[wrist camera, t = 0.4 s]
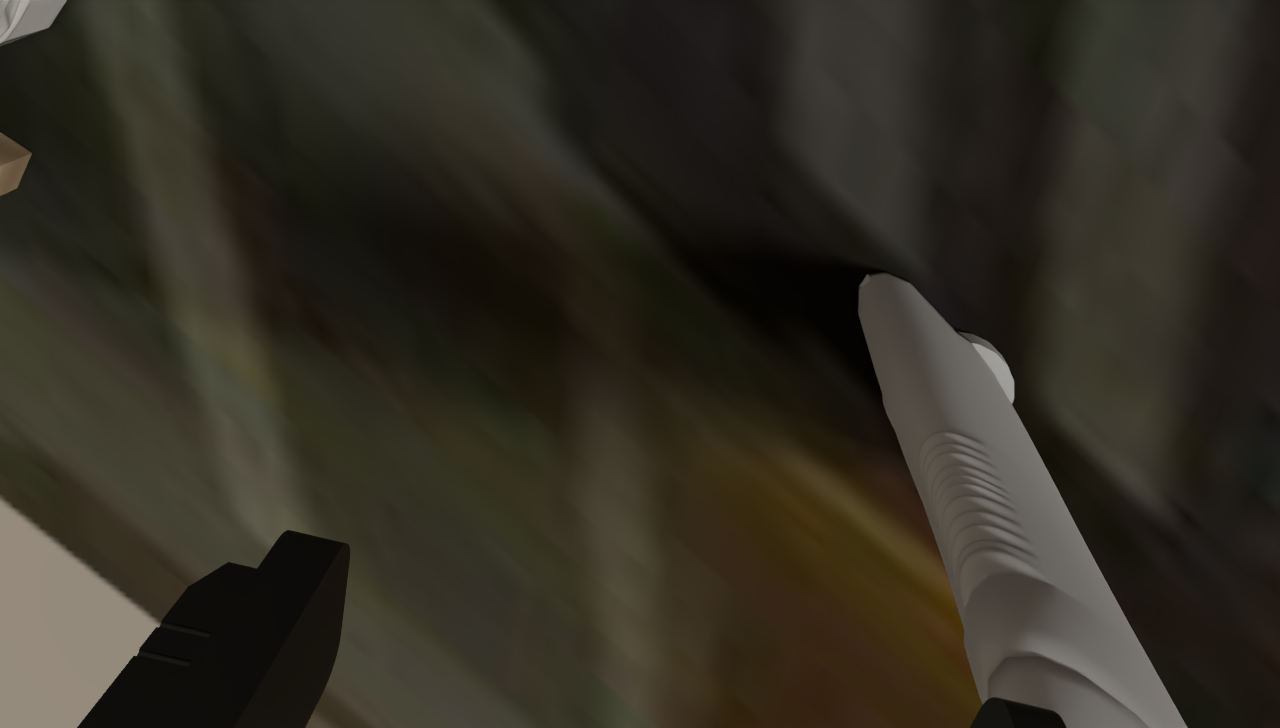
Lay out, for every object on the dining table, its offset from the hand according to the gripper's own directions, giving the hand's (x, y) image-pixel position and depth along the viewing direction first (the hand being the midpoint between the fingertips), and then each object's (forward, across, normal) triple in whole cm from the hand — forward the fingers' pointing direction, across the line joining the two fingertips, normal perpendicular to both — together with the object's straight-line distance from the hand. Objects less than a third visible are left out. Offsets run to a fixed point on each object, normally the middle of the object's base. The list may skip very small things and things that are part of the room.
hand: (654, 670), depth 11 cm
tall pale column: (+20, -10, +4) cm, 22 cm away
